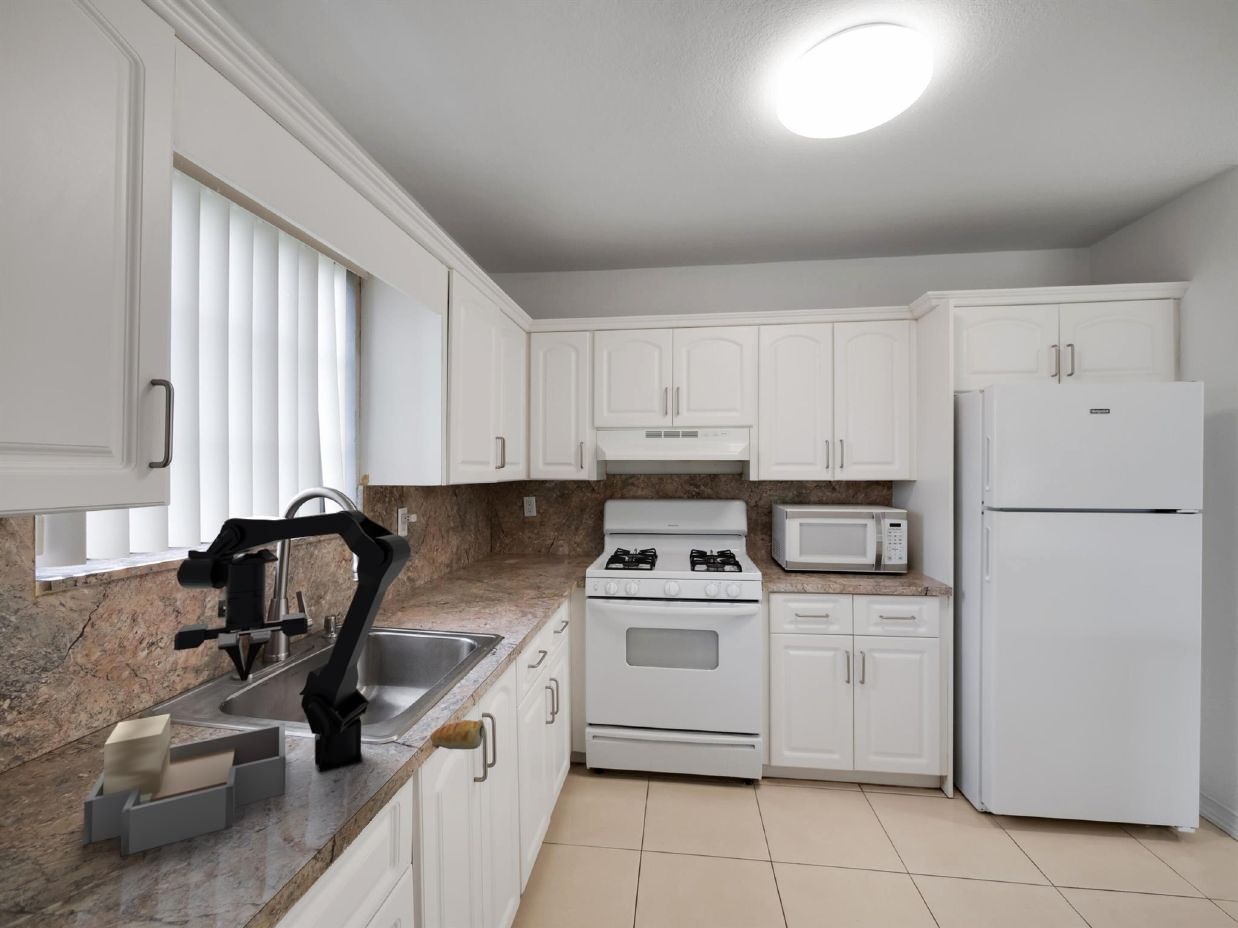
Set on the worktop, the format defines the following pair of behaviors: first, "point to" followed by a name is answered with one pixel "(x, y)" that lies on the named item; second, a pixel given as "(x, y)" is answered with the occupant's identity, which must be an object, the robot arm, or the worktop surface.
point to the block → (137, 755)
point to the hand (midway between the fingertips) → (244, 680)
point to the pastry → (459, 735)
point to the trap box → (191, 791)
